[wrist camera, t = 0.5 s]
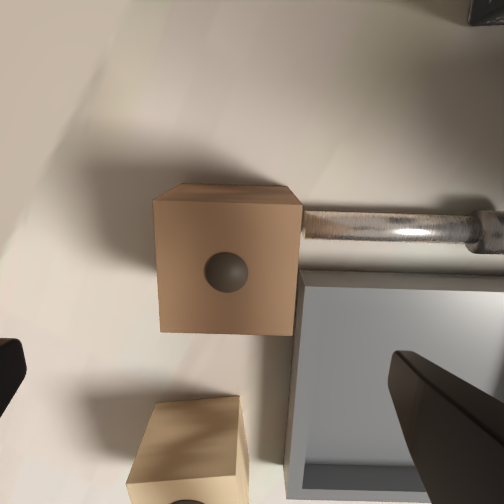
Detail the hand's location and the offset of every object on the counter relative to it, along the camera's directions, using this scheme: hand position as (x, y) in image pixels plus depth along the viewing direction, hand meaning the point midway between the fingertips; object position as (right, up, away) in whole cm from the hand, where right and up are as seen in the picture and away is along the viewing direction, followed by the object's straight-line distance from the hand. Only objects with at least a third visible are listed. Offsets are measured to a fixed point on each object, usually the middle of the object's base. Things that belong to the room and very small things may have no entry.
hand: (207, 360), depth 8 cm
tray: (+12, -6, +15) cm, 20 cm away
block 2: (-2, -11, +16) cm, 20 cm away
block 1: (0, +4, +12) cm, 12 cm away
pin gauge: (+9, +4, +12) cm, 15 cm away
